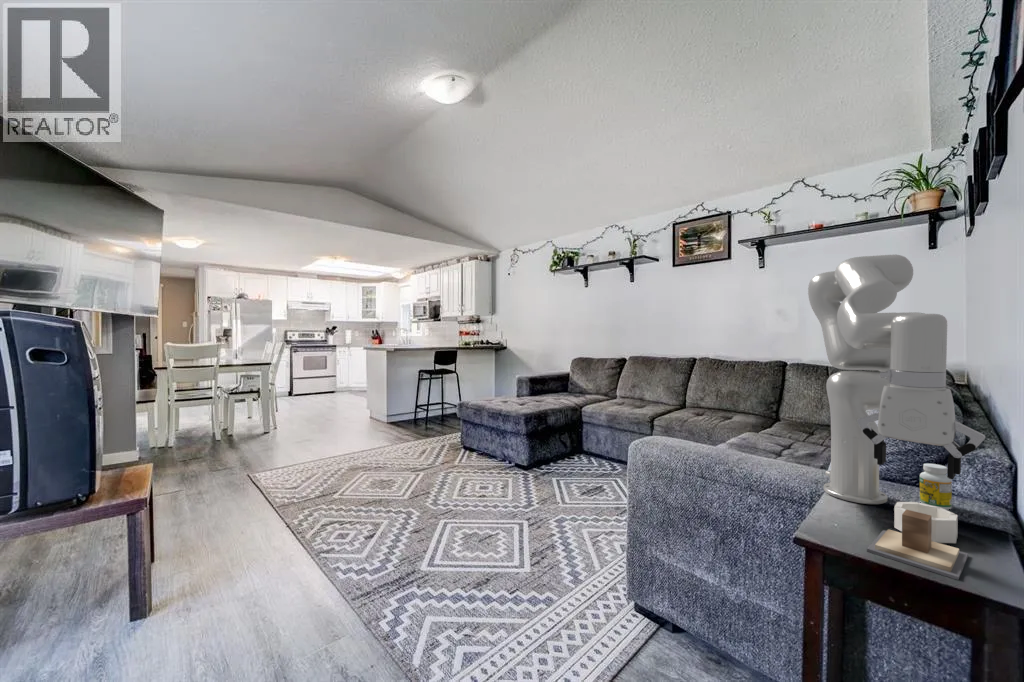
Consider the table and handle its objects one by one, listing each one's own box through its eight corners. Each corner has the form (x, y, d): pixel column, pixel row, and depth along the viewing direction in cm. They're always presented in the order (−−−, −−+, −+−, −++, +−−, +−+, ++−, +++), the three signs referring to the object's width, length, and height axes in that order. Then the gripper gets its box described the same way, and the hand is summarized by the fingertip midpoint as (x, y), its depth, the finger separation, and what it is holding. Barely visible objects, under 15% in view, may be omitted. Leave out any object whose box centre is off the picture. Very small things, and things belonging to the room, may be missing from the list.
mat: (866, 551, 80) (866, 548, 80) (883, 532, 87) (883, 530, 87) (958, 580, 70) (958, 577, 70) (968, 556, 78) (968, 553, 78)
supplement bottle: (958, 511, 97) (958, 469, 97) (933, 510, 97) (933, 469, 97) (937, 501, 102) (937, 462, 102) (913, 501, 103) (913, 462, 103)
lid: (875, 548, 80) (875, 513, 80) (888, 533, 86) (888, 500, 86) (950, 572, 72) (950, 532, 72) (959, 552, 78) (959, 516, 78)
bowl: (884, 521, 92) (884, 501, 92) (928, 522, 91) (928, 502, 91) (921, 542, 83) (921, 519, 83) (970, 543, 82) (970, 520, 82)
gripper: (852, 377, 83) (851, 462, 84) (984, 387, 69) (981, 489, 70) (863, 373, 87) (862, 454, 88) (989, 382, 74) (985, 478, 75)
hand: (914, 469), depth 79 cm, fingers open, 9 cm apart
